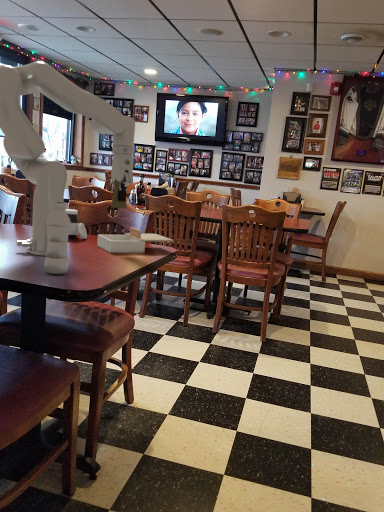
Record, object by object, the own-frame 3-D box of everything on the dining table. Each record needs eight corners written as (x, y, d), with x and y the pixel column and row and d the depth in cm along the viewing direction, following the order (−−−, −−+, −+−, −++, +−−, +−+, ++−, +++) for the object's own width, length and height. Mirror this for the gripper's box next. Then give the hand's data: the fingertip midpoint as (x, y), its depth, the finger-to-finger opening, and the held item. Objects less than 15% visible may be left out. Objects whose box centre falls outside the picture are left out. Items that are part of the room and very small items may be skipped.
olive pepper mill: (117, 206, 157) (120, 178, 155) (130, 208, 154) (132, 179, 152) (107, 206, 152) (109, 177, 150) (119, 208, 149) (121, 178, 147)
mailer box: (110, 253, 148) (111, 241, 147) (97, 245, 159) (97, 234, 158) (144, 252, 155) (145, 241, 155) (129, 245, 167) (130, 235, 166)
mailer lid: (140, 241, 153) (141, 231, 153) (125, 234, 165) (125, 225, 164) (172, 241, 161) (173, 232, 160) (155, 235, 173) (156, 226, 172)
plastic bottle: (43, 276, 108) (46, 202, 104) (44, 270, 114) (47, 200, 111) (68, 277, 110) (71, 204, 106) (68, 271, 116) (71, 202, 112)
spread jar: (57, 234, 174) (58, 207, 172) (83, 235, 179) (85, 209, 177) (60, 239, 164) (62, 211, 161) (88, 240, 169) (90, 213, 166)
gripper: (141, 152, 144) (137, 203, 148) (123, 152, 158) (119, 199, 161) (122, 150, 140) (118, 202, 144) (105, 150, 154) (101, 197, 157)
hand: (119, 200), depth 153 cm, fingers closed on olive pepper mill, 4 cm apart
